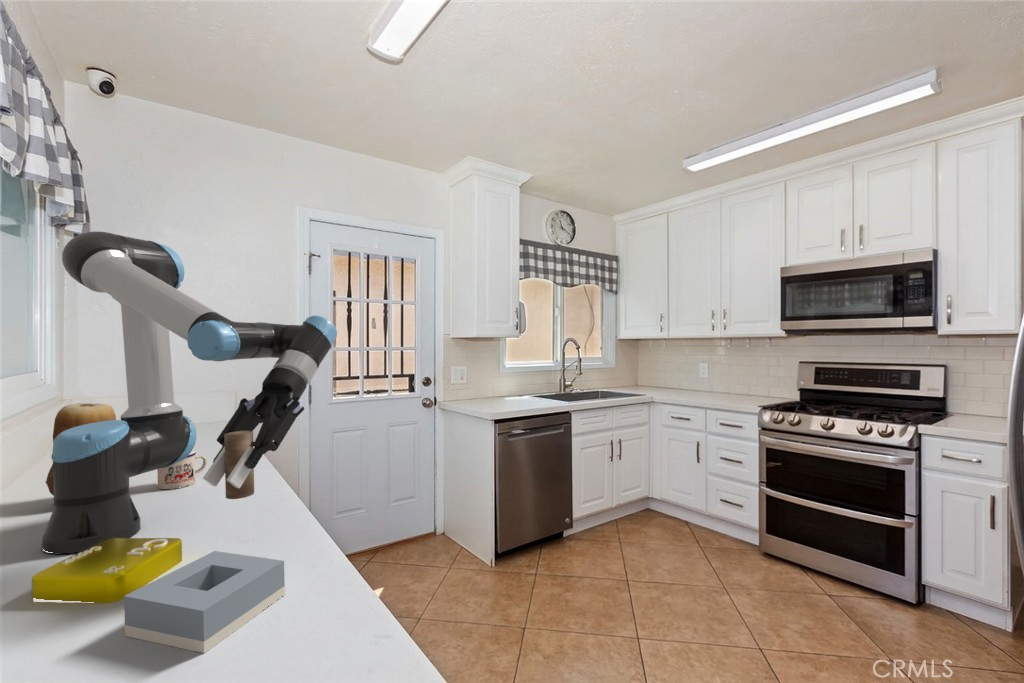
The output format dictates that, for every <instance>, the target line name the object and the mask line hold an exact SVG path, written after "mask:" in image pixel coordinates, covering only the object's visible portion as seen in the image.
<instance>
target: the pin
mask: <svg viewBox="0 0 1024 683" xmlns="http://www.w3.org/2000/svg"><path fill="white" fill-rule="evenodd" d="M224 441H225V474H224V475H225V476H224V479H225V481H224V482H225V484H224V485H225V499H228V500H238V499H244V498H245V499H246V498H247V497H250V496H253V495H254V494H255V468H254V469H251V471H250V473H249V474H248V476H247V477H246V479H245V481H244V482H243V484H242V486H241V487H240V488H236V487H234V486H233V485H232V484H231V483H229V482H228V481H227V479H228V477H229V476H230V474H231V472H232V471H233V469H234V468H235V466H236V465H237V463H238V462H239V460H240V458H241V457H242V455H243V454H244V452H245V451H246V449H247V448H248V446H249V447H253V448H254V446H253V445H252V444H251V442H252V443H253V442H254V430H253V431H236V432H230V433H226V434H224ZM253 444H254V443H253Z"/></svg>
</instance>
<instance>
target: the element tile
mask: <svg viewBox="0 0 1024 683" xmlns="http://www.w3.org/2000/svg"><path fill="white" fill-rule="evenodd" d="M182 541H183V540H182V539H181V538H179V537H178V538H177V537H169V538H168V537H129V538H112V539H108V540H105V541H103V542H101V543H99V544H96V545H94V546H92V547H90V548H88V549H86V550H84V551H82V552H77V553H75V554H73V555H72V556H69V557H67V558H65V559H63V560H60V561H59V562H57V563H54V564H53V565H51V566H49V567H47V568H44V569H43V570H40V571H38V572H37V573H35V574H33V576H31V598H32V597H33V598H36V599H44V600H62V601H81V602H94V603H93V604H109V603H110V604H111V603H115V602H118V601H122V600H124V596H125V595H127V594H129V593H131V592H133V591H135V590H137V589H139V588H141V587H143V586H145V585H147V584H149V583H151V582H153V581H155V580H157V579H158V578H159V577H160V576H162V575H163V574H165V573H166V572H168V571H169V570H172V568H174V567H176V566H177V565H179V564H180V563H181V562H182V561H183V544H182V543H183V542H182Z"/></svg>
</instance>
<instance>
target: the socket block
mask: <svg viewBox="0 0 1024 683" xmlns="http://www.w3.org/2000/svg"><path fill="white" fill-rule="evenodd" d="M285 586H286V585H285V561H284V560H282V559H274V558H267V557H262V556H261V557H260V556H253V555H248V554H246V555H245V554H238V553H231V552H223V551H217V550H214V551H212V552H210V553H207V554H206V555H204V556H202V557H200V558H198V559H196V560H193V561H191V562H190V563H188V564H186V565H183V566H181V567H179V568H177V569H176V570H173V571H172V572H169V573H168V574H165V575H164V576H161V577H160V578H159V577H158V578H156V579H154V580H153V581H151V582H149V583H148V584H146V585H145V586H143V587H141V588H139V589H137V590H135V591H133V592H131V593H129V594H127V595H125V596H124V599H123V602H124V603H123V604H124V605H123V606H124V607H123V608H124V611H123V612H124V636H125V637H129V638H132V639H138V640H142V641H147V642H150V643H151V642H152V643H156V644H161V645H165V646H170V647H172V648H178V649H182V650H187V651H192V652H197V653H202V654H205V653H207V652H208V651H210V650H211V649H212V648H214V647H215V646H217V645H218V644H219V643H221V642H222V641H224V640H225V639H227V638H228V637H229V636H230V635H232V634H233V633H235V632H236V631H237V630H239V629H240V628H241V627H243V626H244V625H246V624H247V623H249V621H251V620H253V619H254V618H256V617H257V616H258V615H260V614H261V613H263V612H264V611H265V610H266V608H267V607H268V606H269V607H271V606H272V605H274V604H275V603H276V602H278V601H279V600H280V599H282V598H283V597H285V596H286V595H285V594H286V591H285V590H286V588H285ZM284 595H285V596H284ZM282 596H283V597H282ZM281 597H282V598H281ZM279 598H280V599H279ZM278 599H279V600H278ZM277 600H278V601H277ZM274 602H275V603H274ZM273 603H274V604H273ZM271 604H272V605H271ZM270 605H271V606H270ZM269 607H268V608H269ZM268 608H267V609H268ZM264 609H265V610H264ZM263 610H264V611H263ZM259 613H260V614H259Z"/></svg>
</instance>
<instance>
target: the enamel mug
mask: <svg viewBox="0 0 1024 683" xmlns="http://www.w3.org/2000/svg"><path fill="white" fill-rule="evenodd" d="M196 454H197V452H196V450H194V449H193V450H192V452H191V453H190V454H189V455H188V456H187V457H186V458H185V459H184V460H182V461H180V462H178V463H175V464H173V465H171V466H169V467H166V468H159V469H156V471H157V488H158V489H159V490H162V489H171V490H175V489H174V488H179V487H183V488H185V487H184V486H187V485H190V484H192V485H194V484H195V483H196V474H198V473H199V474H200V473H201V472H203V471H204V470H205V469H206V467H207V464H208V460H207V457H206V456H204V455H201V454H200V455H196ZM196 459H202V460H203V462H202V465H201V467H200V468H198V469H197V470H196ZM193 483H194V484H193ZM190 486H191V485H190ZM187 487H188V486H187ZM179 489H180V488H179Z"/></svg>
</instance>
